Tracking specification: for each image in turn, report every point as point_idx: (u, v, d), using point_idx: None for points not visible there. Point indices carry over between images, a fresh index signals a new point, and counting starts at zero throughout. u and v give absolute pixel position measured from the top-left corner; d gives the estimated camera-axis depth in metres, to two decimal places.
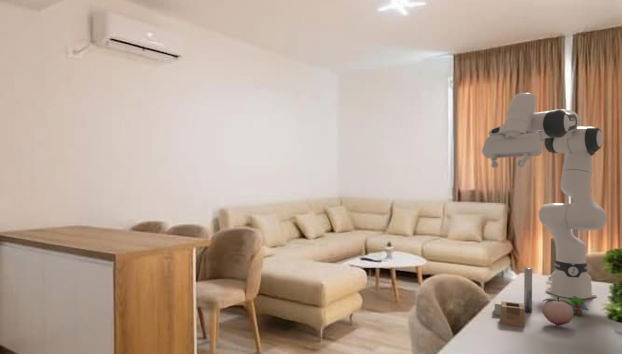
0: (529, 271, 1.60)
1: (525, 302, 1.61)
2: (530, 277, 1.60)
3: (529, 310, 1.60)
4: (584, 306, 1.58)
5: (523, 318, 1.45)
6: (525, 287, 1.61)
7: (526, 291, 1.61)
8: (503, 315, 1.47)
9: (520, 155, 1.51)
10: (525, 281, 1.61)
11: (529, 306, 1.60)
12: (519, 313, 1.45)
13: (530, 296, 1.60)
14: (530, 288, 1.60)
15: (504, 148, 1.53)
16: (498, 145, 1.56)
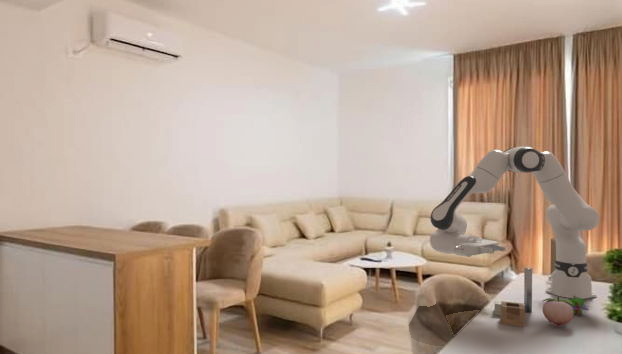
0: (529, 271, 1.60)
1: (525, 302, 1.61)
2: (530, 277, 1.60)
3: (529, 310, 1.60)
4: (584, 306, 1.58)
5: (523, 318, 1.45)
6: (525, 287, 1.61)
7: (526, 291, 1.61)
8: (503, 315, 1.47)
9: None
10: (525, 281, 1.61)
11: (529, 306, 1.60)
12: (519, 313, 1.45)
13: (530, 296, 1.60)
14: (530, 288, 1.60)
15: None
16: None
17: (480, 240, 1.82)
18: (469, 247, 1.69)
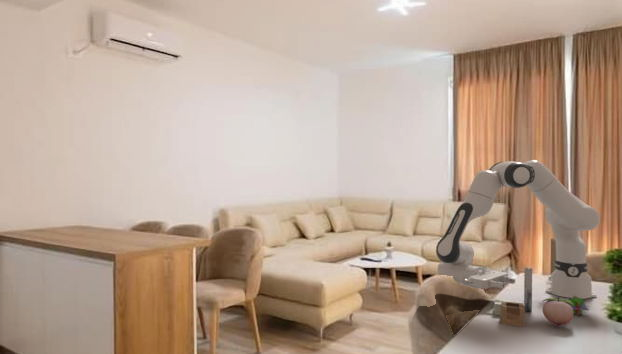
0: (529, 271, 1.60)
1: (525, 302, 1.61)
2: (530, 277, 1.60)
3: (529, 310, 1.60)
4: (584, 306, 1.58)
5: (523, 318, 1.45)
6: (525, 287, 1.61)
7: (526, 291, 1.61)
8: (503, 315, 1.47)
9: None
10: (525, 281, 1.61)
11: (529, 306, 1.60)
12: (519, 313, 1.45)
13: (530, 296, 1.60)
14: (530, 288, 1.60)
15: None
16: None
17: (489, 271, 1.79)
18: (478, 281, 1.66)
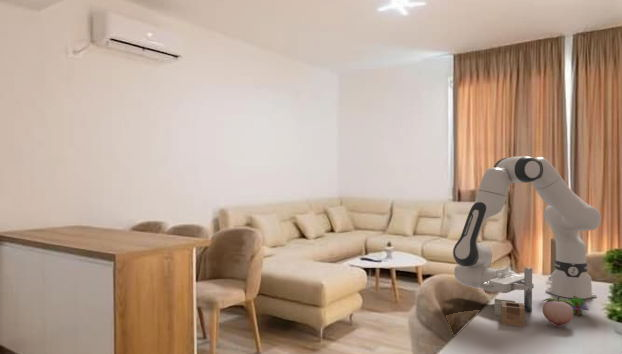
0: (529, 271, 1.60)
1: (525, 302, 1.61)
2: (530, 277, 1.60)
3: (529, 310, 1.60)
4: (584, 306, 1.58)
5: (523, 318, 1.45)
6: None
7: (526, 291, 1.61)
8: (503, 315, 1.47)
9: None
10: (525, 281, 1.61)
11: (529, 306, 1.60)
12: (519, 313, 1.45)
13: (530, 296, 1.60)
14: (530, 288, 1.60)
15: None
16: None
17: (509, 274, 1.73)
18: (499, 284, 1.60)
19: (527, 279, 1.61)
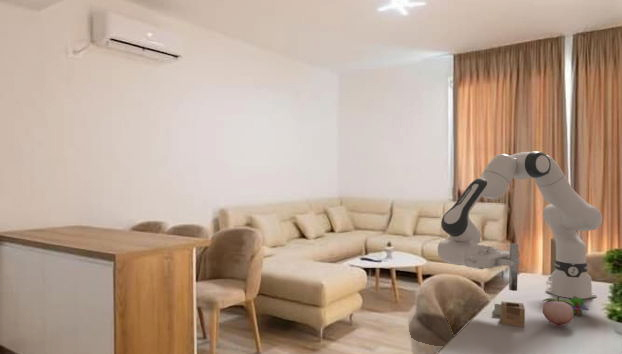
0: (515, 246, 1.50)
1: (510, 280, 1.50)
2: (516, 253, 1.50)
3: (514, 288, 1.50)
4: (584, 306, 1.58)
5: (523, 318, 1.45)
6: None
7: (511, 268, 1.50)
8: (503, 315, 1.47)
9: None
10: (510, 257, 1.51)
11: (514, 284, 1.50)
12: (519, 313, 1.45)
13: (515, 273, 1.50)
14: (516, 265, 1.50)
15: None
16: None
17: (494, 250, 1.62)
18: (483, 259, 1.49)
19: (512, 255, 1.50)
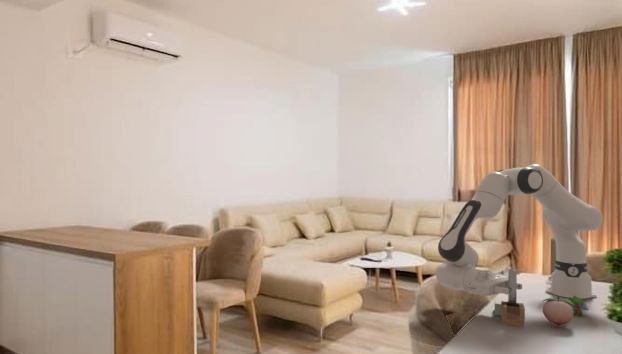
0: (513, 273, 1.48)
1: None
2: (514, 279, 1.48)
3: None
4: (584, 306, 1.58)
5: (523, 318, 1.45)
6: None
7: (510, 294, 1.48)
8: (503, 315, 1.47)
9: None
10: (509, 283, 1.49)
11: None
12: (519, 313, 1.45)
13: (514, 300, 1.48)
14: (514, 291, 1.48)
15: None
16: None
17: (493, 275, 1.60)
18: (481, 286, 1.47)
19: (511, 281, 1.48)
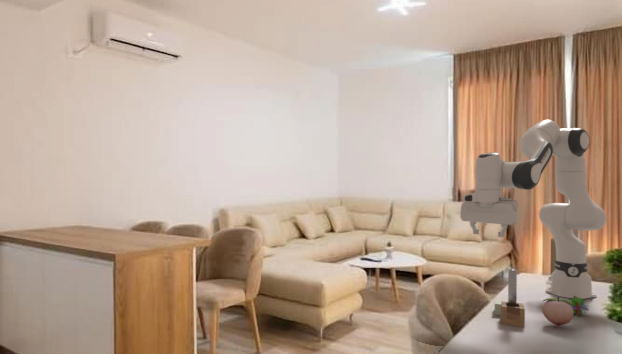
0: (513, 273, 1.48)
1: None
2: (514, 279, 1.48)
3: None
4: (584, 306, 1.58)
5: (523, 318, 1.45)
6: (509, 290, 1.49)
7: (510, 294, 1.48)
8: (503, 315, 1.47)
9: None
10: (509, 283, 1.49)
11: None
12: (519, 313, 1.45)
13: (514, 300, 1.48)
14: (514, 291, 1.48)
15: (481, 217, 1.57)
16: (474, 213, 1.59)
17: None
18: (517, 218, 1.51)
19: (511, 281, 1.48)
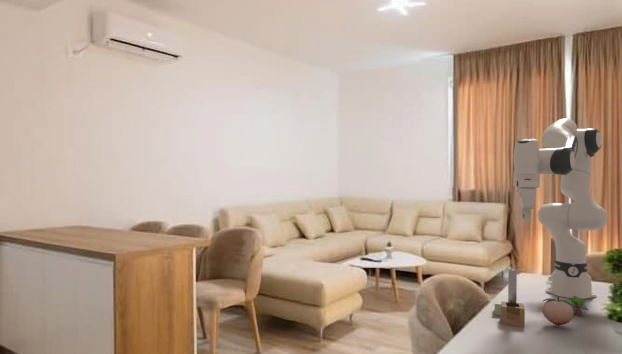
0: (513, 273, 1.48)
1: None
2: (514, 279, 1.48)
3: None
4: (584, 306, 1.58)
5: (523, 318, 1.45)
6: (509, 290, 1.49)
7: (510, 294, 1.48)
8: (503, 315, 1.47)
9: (521, 206, 1.64)
10: (509, 283, 1.49)
11: None
12: (519, 313, 1.45)
13: (514, 300, 1.48)
14: (514, 291, 1.48)
15: None
16: None
17: None
18: None
19: (511, 281, 1.48)
